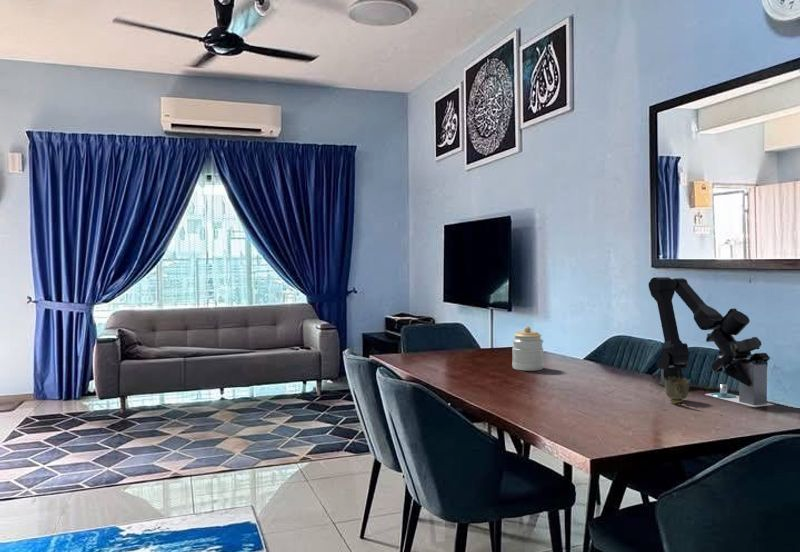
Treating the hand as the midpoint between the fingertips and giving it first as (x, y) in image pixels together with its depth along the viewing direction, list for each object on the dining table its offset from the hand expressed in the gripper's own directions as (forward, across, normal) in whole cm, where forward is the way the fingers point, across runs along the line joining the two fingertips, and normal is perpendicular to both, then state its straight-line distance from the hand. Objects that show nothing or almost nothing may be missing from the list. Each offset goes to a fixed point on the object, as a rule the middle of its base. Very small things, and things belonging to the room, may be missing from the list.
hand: (756, 384), depth 188 cm
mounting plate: (0, 0, +10) cm, 10 cm away
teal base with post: (-4, 0, +14) cm, 14 cm away
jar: (-56, -29, +66) cm, 91 cm away
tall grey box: (+3, 0, +5) cm, 6 cm away
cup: (-4, -19, +14) cm, 24 cm away
